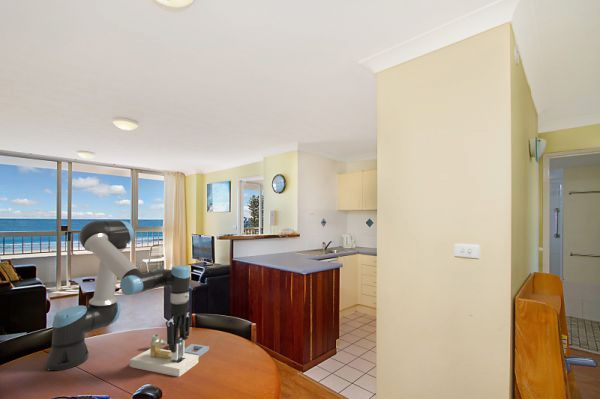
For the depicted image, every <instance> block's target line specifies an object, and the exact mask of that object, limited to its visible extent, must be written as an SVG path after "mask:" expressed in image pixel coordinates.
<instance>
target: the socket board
mask: <svg viewBox="0 0 600 399" xmlns="http://www.w3.org/2000/svg"><path fill="white" fill-rule="evenodd" d="M150 350H151V348H149V349H146V350H145V351H143V352H141V353H139V354H137V355H135V356H134V357H132V358H130V359H129V367H130V368H134V369H139V370H144V371H148V372H149V371H150V372H153V373H158V374H164V375H168V376H173V377H179V378H180V377H181V376H182V375H184V374H185V373H187V372H188V371H190V369H192V368H193V367H194V366H196V365H197V364H198V363H199V358H200V357H199V355H193V354H187V353H184V356H182V361H181V362H180V363H175V362H174V360H172V359H171V357H170V358H168V359H166V358H161V357H151V356H150ZM160 350H162V351H168V352H171V350H170V349H168V350H167V349H164V348H160ZM171 356H172V353H171Z"/></svg>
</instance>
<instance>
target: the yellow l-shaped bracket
mask: <svg viewBox="0 0 600 399" xmlns="http://www.w3.org/2000/svg"><path fill="white" fill-rule="evenodd" d="M161 347H162V346H161V343H159V342H156V343H154V344H152V345H151V344H150V349H151V350H150V356H151V357H161V358H166V359H168V358H170V357H171V353H172V352H168V351H162V350H160V349H161Z"/></svg>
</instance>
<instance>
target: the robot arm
mask: <svg viewBox="0 0 600 399" xmlns="http://www.w3.org/2000/svg"><path fill="white" fill-rule="evenodd" d="M134 235H135V231H134V228H133V226H132V224H130V222H128V221H125V220H119V219H118V220H93V221H90V222H89V223H86V224H85V225H84V226H83V227H82V228H81V230H80V232H79V237H78V238H79V242H80V245H81V246H82V247H83V248H84V250H86V251H87V252H90V253H92V254H94V255H95V257H97V259H98V260H99V263H98V269H97V275H96V281H95V287H94V292H93V297H92V298H90V299H89V300H88V305H87V306H86V305H75V306H70V307H65V309H62V310H60V311H58V312H56V314H55V315H54V317H53V322H52V324H51V325H52V335H51V348H50V351H49V353H48V356H47V357H46V360H45V363H44V369H45V368H46V369H49V370H58V371H63V369H64V370H67V369H72V368H74V367H77V366H79V365H81V364H83V363H85V362H86V361H87V360H88V358H89V353H90V352H89V349H88V347H87V344H86V341H85V338H86V334H87V333H90V332H94V331H95V330H96V331H97V330H99V329H102V328H106V327H108V326H110V325H112V324H113V323H115V322H117V320H118V319H119V317H120V316H121V315H120V314H121V307H120V306H121V305H120V303H119V301H118V299H117V298H116V297H115V292H116V286H117V281H118V279H119V281H120V284H119V288H120V289H121V293H122V294H123V295H124V296H125V295H126V296H131V295H137V294H138V295H139V294H140V293H143V292H146V291H147V292H148V291H151V290H154V289H158V288H161V287H163V288H164V287H166V288H170V298H169V299H170V305H169V306H170V307H169V312H170V313H171V316H170V319H169V320H167V321H165V325H166V341H167V345H168V344H169V345H171V347H170V348H171V350H170V351H171V352H172V356H171V359H172V360H178V344H177V339H178V337H179V336H181V337H183V341H182V356H184V349H185V348H186V347H185V346H186V340H187V341H188V337H189V335H190V325H191V317H192V312H188V311H189V310H190V309H189V307H190V301H189V300H190V280H191V270H190V266H188V265H182V264H181V265H173V266H172V267H171V269H166V268H155V269H152V270H151V271H148V272H142V271H141V270H140V269H139V268H138V267H137V266H136V265H135V264H134V263H133V262H132V261H131V260H130V259H128V257H127V256H126V255H125V254H123V253H122V252H123V251H124V250H125V249H127V244H129V243H130V242H132V241H133V239H134ZM169 345H168V346H169ZM46 369H45V370H46ZM49 370H48V371H49Z"/></svg>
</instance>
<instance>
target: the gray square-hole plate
mask: <svg viewBox="0 0 600 399" xmlns="http://www.w3.org/2000/svg"><path fill="white" fill-rule="evenodd" d="M194 350H197V351H194ZM209 350H210V346H209V345H203V344H196V343H195V344H194V343H191V344H189V345H188V346H187V347H185V349H184V353H187V354H193V355H199V358H200V357H201V356H202V355H204V354H205V353H207V352H208V351H209Z"/></svg>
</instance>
